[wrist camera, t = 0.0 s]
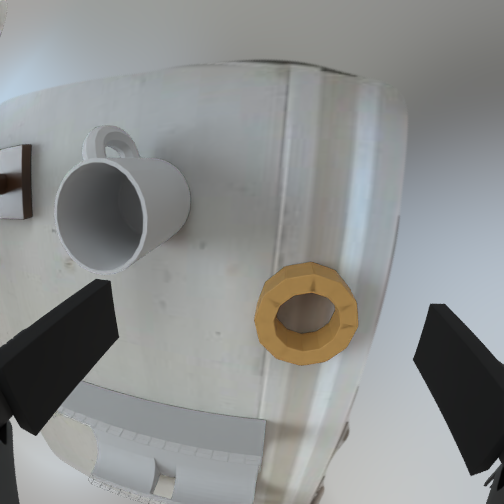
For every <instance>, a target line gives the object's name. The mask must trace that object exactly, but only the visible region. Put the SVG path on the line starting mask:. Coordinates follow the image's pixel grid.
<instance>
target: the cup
mask: <svg viewBox="0 0 504 504" xmlns="http://www.w3.org/2000/svg"><path fill="white" fill-rule="evenodd" d="M106 146H108V147H111V148H113V149H114V150H116V151H117V152H118V154H119V156H120V158H107V157H106V153H105V147H106ZM82 157H83V161H81V162H79V163H78V164H77V165H75V166H74V167H73V168H71V169H70V170H69V171H68V173H67V174H66V175H65V177H64V178H63V179H62V181H61V184H60V186H59V188H58V191H57V194H56V199H55V204H54V220H55V225H56V230H57V234H58V236H59V239H60V241H61V243H62V246H63V247H64V249H65V250H66V252H67V253H68V255H69V256H70V257H71V258H72V259H73V260H74V261H75V262H76V263H77V264H78V265H79V266H80V267H82V268H84V269H86V270H88V271H90V272H91V273H96V274H101V275H108V274H116V273H118V272H120V271H122V270H124V269H126V268H128V267H129V266H131V265H132V264H133V263H135V262H136V261H138V260H139V259H140V258H142V257H143V256H145V255H146V254H148V253H149V252H150V251H152V250H153V249H155V248H156V247H158V246H159V245H161V244H162V243H164V242H165V241H166V240H168V239H169V238H171V237H172V236H173V235H174V234H175V233H177V232H178V231H179V230H180V229H181V227H182V226H183V224H184V223H185V221H186V220H187V217H188V214H189V211H190V202H191V197H190V191H189V186H188V184H187V182H186V180H185V177H184V176H183V175H182V173H181V172H180V171H179V170H178V168H176V167H175V166H173V165H172V164H171V163H169V162H167V161H164V160H161V159H158V158H140V155H139V152H138V149H137V147H136V145H135V143H134V141H133V140H132V138H131V137H130V135H129V134H127V133H126V132H125V131H124V130H123V129H121V128H118V127H116V126H99V127H95V128H94V129H93V130H92V131H91V132H90V133H89V134H88V135H87V137H86V138H85V140H84V143H83V146H82Z"/></svg>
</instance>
